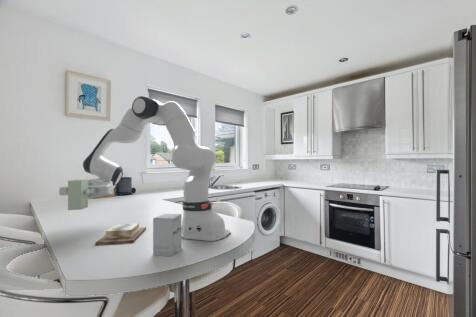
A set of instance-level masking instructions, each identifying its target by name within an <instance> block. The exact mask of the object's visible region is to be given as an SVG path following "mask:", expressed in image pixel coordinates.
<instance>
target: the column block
mask: <svg viewBox="0 0 476 317" xmlns="http://www.w3.org/2000/svg"><path fill="white" fill-rule="evenodd" d="M88 180H89V179H71V180H67V186H68V195H67V211H80V210H81V211H82V210H83V209H87V208H89V207H88V206H89V205H88V204H89V198H88V194H84V193H83V192H84V190H85V189H88Z"/></svg>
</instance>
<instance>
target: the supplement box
mask: <svg viewBox="0 0 476 317" xmlns="http://www.w3.org/2000/svg"><path fill="white" fill-rule="evenodd" d="M182 239H183V238H182V213H162V214H161V215H160V214H159V215H158V216H155V217H153V218H152V255H153V256H164V257H173V256H174V255H175V254H176V253H177V252H178V251H180V250H181V249H183V248H182V246H183V245H182Z"/></svg>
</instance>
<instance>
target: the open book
mask: <svg viewBox="0 0 476 317" xmlns="http://www.w3.org/2000/svg"><path fill="white" fill-rule="evenodd" d="M145 231H147V227H143V226H142V227H140V223H124V224H123V223H121V224H120V223H119V224H115V225H113V226H112V227H110V228H108V229H107V230H105V235H104V236H102V237H101V238H100V239H98V240H97V241H95V243H94V244H95V246H98V245H102V246H103V245H117V244H132V243H136V241H137V240H138V239H139V238H140V236H142V235H143V234H144V233H145Z"/></svg>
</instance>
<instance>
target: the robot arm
mask: <svg viewBox="0 0 476 317" xmlns="http://www.w3.org/2000/svg"><path fill="white" fill-rule="evenodd" d="M149 123H151V124H153V125H157V126H165V127H166V129H167V131H168V134H169V135H170V138H171V140H172V142H173V147H174V150H173V152H172V154H171V160H172V163H173V165H174V166H175V167H176V168H178V169H181V170H184V171H189V172H188V175H187V178H186V180H185V181H184V182H183V185H182V186H183V201H182V206H181V207H182V210H183V215H182V220H181V226H182V239H185V240H198V241H205V242H214V241H219V240H221V239H224V238H227V237H228V236H229V235H230V234H231V230H230V229H228V228H226V224H225V220H224V218H223V217H221V215H219V214H218V213H217V212H216V211H215V210H214V209H213V207H212V206H214V202H211V201H210V199H209V183H210V176H211V172H212V169H213V166H214V165H215V163H216V159H217V156H216V153H215V152H214V150H212V149H210V148H209V147H208V146H207V147H206V146H203V145H202V146H200V145H198V144H197V142H196V138H195V135H196V130H195V128H194V126H193V124H192V122H191V121H190V119H189V117H188V115H187V114H186V112H185V110H184V109H183V108H182V107H181V105H180V104H179V103H178V102H177V101H174V100H173V101H172V100H171V101H166V102H165V103H162V102H161V101H159V100H156V99H155V98H154V99H153V98H151V97H149V96H146V95H145V96H144V95H143V96H142V95H141V96H138V97H136V98H135V99H134V100H133V101H132V105H131V106H130V107H129V108H128V109H127V111H125V114H124V115H123V116H122V119H121V120H120V122H119V124H118V125H117V126H116V127H115V128H110V129H109V130H107V131H106V132H105V134H103V136H102V137H101V139H100V140H99V142H98V143H97V144H96V146H95V147H94V148H93V150H92V151H91V152H90V153H89V155H87V157H86V158H85V159H84V161H83V162H82V167H83V171H84V172H86V173H88V174H91V175H94V176H95V177H97V178H95V179H94V178H93V179H87V180H88V189H85V190H84V192H83V193H84V194H88V199H95V198H99V197H100V198H101V197H103V196H111V195H113V194H114V189H115V188H116V185H117V186H118V184H119V183H120V181H121V180H122V178H123V175H124V173H123V171H124V169H123V167H122V166H121V165H119V164H117V163H115V162H113V161H111V160H108V159H107V158H105V157H104V156H103V155H104V154H105V153H106V151H107V150H108V148H109V147H110V146H111V145H112V144H113V143H117V144H118V143H120V144H134V143H135V142H137V141H138V140H139V139H140V138H141V135H143V131H144V130H145V127H146V126H147V125H148V124H149ZM58 194H59V196H68V185H67V186H61V187H59V189H58ZM229 233H230V234H229ZM228 234H229V235H228ZM227 235H228V236H227Z"/></svg>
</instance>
